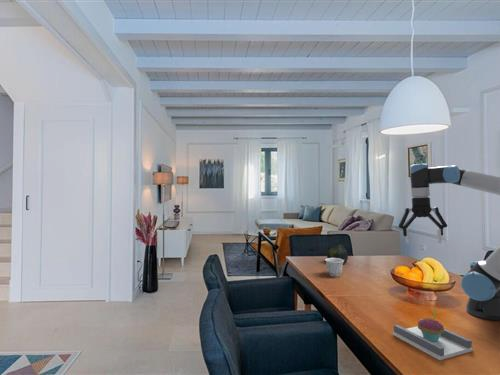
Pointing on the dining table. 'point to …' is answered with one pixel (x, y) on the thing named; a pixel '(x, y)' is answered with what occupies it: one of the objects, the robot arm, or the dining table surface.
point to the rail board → (441, 349)
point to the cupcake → (431, 328)
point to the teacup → (334, 266)
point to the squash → (338, 253)
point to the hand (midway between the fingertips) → (423, 243)
